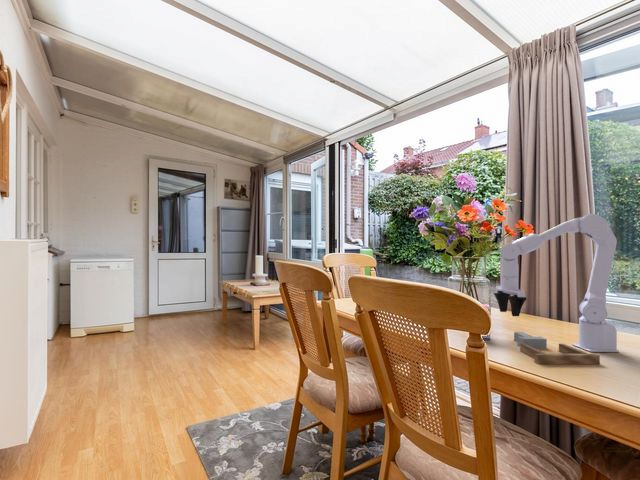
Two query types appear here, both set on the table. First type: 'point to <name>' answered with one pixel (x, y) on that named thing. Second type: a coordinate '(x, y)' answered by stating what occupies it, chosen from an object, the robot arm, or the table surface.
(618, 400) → the table surface
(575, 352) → the walnut bay
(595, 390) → the table surface
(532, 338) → the t block
